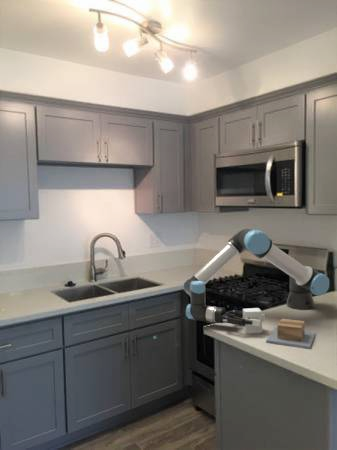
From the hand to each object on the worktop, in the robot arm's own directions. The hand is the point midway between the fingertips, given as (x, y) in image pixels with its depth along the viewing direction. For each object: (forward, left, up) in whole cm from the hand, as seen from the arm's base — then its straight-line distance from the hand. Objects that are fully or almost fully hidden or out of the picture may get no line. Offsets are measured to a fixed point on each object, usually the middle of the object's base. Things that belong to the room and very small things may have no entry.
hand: (262, 320), depth 176 cm
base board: (+2, +13, -6) cm, 15 cm away
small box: (0, -5, -6) cm, 8 cm away
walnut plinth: (+2, +13, -6) cm, 15 cm away
